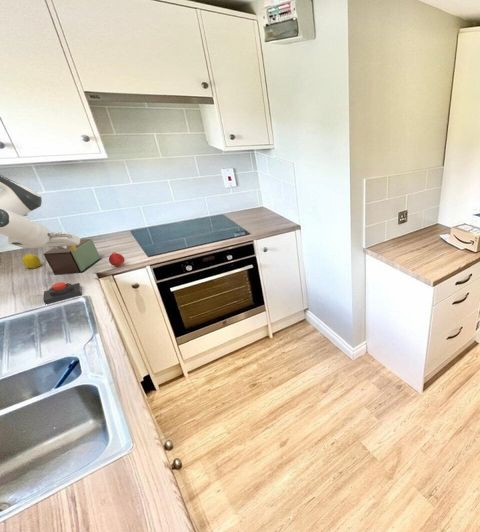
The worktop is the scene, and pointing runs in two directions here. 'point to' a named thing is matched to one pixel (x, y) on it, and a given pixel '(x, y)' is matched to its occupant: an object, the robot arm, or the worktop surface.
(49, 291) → the button box
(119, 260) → the onion
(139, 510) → the worktop surface
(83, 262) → the sliding door
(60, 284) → the button
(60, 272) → the cabinet
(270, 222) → the worktop surface
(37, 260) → the lemon
